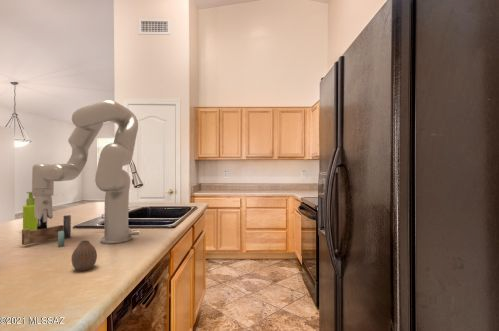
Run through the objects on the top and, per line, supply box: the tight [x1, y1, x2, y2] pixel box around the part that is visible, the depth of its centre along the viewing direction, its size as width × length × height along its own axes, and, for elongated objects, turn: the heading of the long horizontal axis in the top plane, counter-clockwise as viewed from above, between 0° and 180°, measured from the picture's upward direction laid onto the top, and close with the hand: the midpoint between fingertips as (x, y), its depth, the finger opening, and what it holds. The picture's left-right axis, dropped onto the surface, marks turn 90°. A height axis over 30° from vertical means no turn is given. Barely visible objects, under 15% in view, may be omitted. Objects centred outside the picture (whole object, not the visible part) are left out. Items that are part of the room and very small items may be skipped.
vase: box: [71, 239, 98, 272], centre depth 87 cm, size 7×7×9 cm
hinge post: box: [62, 214, 72, 239], centre depth 125 cm, size 3×3×10 cm
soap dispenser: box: [22, 191, 39, 231], centre depth 135 cm, size 6×7×20 cm
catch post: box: [57, 231, 65, 248], centre depth 111 cm, size 2×2×6 cm
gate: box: [21, 224, 64, 246], centre depth 116 cm, size 15×2×6 cm, turn 155°
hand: (41, 234), depth 118 cm, fingers closed
